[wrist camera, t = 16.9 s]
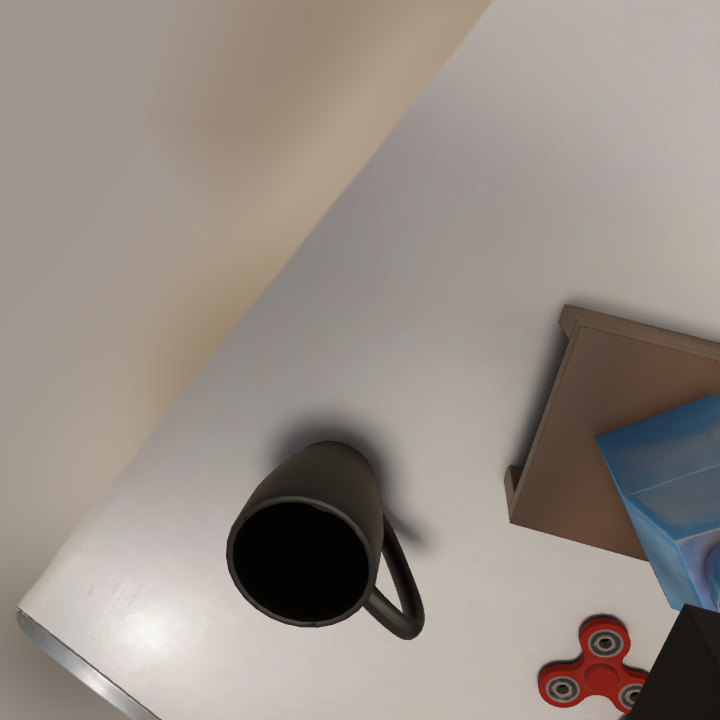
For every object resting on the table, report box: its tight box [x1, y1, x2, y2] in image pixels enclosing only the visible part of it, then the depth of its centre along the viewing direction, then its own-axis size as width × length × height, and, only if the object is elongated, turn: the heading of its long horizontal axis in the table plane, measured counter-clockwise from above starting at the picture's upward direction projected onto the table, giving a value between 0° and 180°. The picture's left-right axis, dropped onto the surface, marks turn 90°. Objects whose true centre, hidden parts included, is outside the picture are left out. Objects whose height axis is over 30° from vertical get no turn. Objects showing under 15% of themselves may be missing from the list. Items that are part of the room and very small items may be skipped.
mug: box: [226, 441, 425, 640], centre depth 38 cm, size 8×12×10 cm
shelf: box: [504, 305, 720, 562], centre depth 34 cm, size 18×12×8 cm, turn 77°
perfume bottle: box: [594, 394, 720, 613], centre depth 28 cm, size 6×6×12 cm
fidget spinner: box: [538, 618, 648, 714], centre depth 43 cm, size 8×7×1 cm
